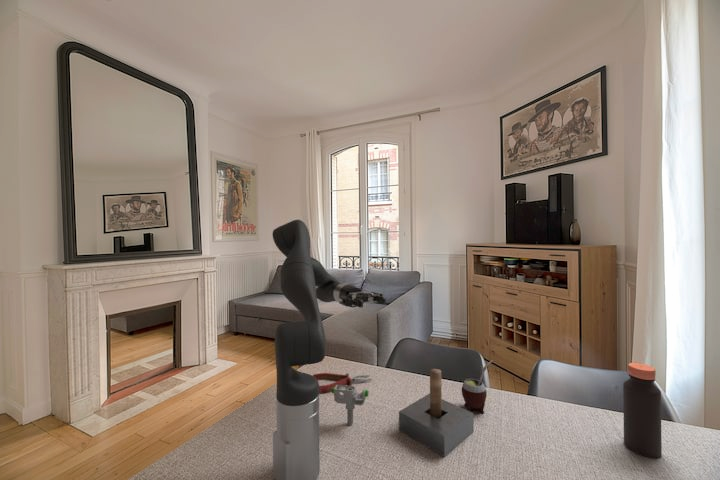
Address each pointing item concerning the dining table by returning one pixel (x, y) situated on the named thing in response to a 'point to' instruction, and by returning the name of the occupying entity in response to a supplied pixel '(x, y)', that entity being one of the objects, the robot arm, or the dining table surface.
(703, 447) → the dining table surface
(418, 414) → the grey square hole block
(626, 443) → the bottle
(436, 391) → the pin
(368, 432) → the dining table surface
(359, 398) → the mechanical component
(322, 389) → the pliers
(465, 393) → the mate gourd
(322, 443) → the dining table surface
